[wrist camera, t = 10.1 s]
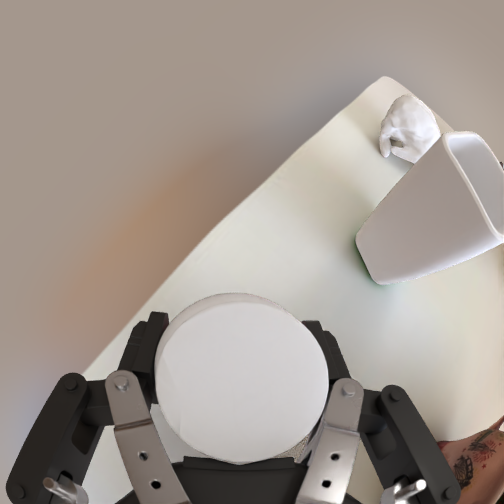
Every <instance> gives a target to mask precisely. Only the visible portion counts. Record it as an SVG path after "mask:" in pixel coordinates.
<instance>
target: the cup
mask: <svg viewBox="0 0 504 504" xmlns="http://www.w3.org/2000/svg"><path fill="white" fill-rule="evenodd" d="M355 242H356V245H357V248H358V250H359V252H360V254H361V256H362V258H363V260H364V262H365V264H366V267H367V269H368V271H369V273H370V275H371V277H372V279H373V280H374V281H375V282H376V283H377V284H380V285H387V284H393V283H399V282H403V281H407V280H412V279H416V278H419V277H422V276H425V275H428V274H431V273H434V272H437V271H440V270H443V269H446V268H449V267H451V266H454V265H456V264H459V263H461V262H463V261H466V260H468V259H471V258H473V257H475V256H477V255H479V254H481V253H483V252H485V251H487V250H489V249H492V248H494V247H496V246H498V245H500V244H501V243H503V242H504V170H503V168H502V167H501V165H500V163H499V161H498V160H497V158H496V157H495V155H494V153H493V152H492V150H491V149H490V147H489V146H488V145H487V143H486V142H485V141H484V140H483V139H482V138H481V137H480V136H479V135H478V134H476V133H474V132H471V131H458V132H446V133H444V134H442V136H441V137H440V138H439V139H438V140H437V141H436V142H435V143H434V144H433V145H432V146H431V147H430V148H429V150H428V151H427V152H426V153H425V154H424V155H423V156H422V157H421V158H420V159H419V160H418V161H417V162H416V163H415V164H414V165H413V166H412V168H411V169H410V170H409V171H408V172H407V173H406V174H405V175H404V176H403V177H402V178H401V180H400V181H399V182H398V183H397V184H396V185H395V186H394V187H393V188H392V190H391V191H390V192H389V193H388V194H387V195H386V197H385V198H384V199H383V200H382V201H381V202H380V203H379V205H378V206H377V207H376V208H375V210H374V211H373V212H372V213H371V215H370V216H369V217H368V219H367V220H366V221H365V223H364V224H363V225H362V227H361V228H360V230H359V231H358V233H357V235H356V241H355Z"/></svg>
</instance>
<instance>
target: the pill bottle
mask: <svg viewBox="0 0 504 504" xmlns="http://www.w3.org/2000/svg"><path fill="white" fill-rule="evenodd" d="M154 374H155V382H156V394H157V399H158V403H159V406H160V409H161V412H162V414H163V416H164V417H165V419H166V421H167V423H168V424H169V426H170V427H171V428H172V430H173V431H174V432H175V433H176V435H177V436H179V437H180V438H181V439H182V440H183V441H184V442H185V443H187V444H188V445H189V446H191V447H192V448H194V449H195V450H197V451H199V452H201V453H203V454H205V455H207V456H210V457H213V458H216V459H220V460H224V461H230V462H254V461H261V460H265V459H269V458H272V457H275V456H277V455H280V454H282V453H284V452H285V451H287V450H289V449H291V448H292V447H294V446H295V445H296V444H298V443H299V442H300V441H301V440H303V439H304V438H305V437H306V436H307V435H308V434H309V432H310V431H311V430H312V429H313V427H314V426H315V424H316V423H317V421H318V419H319V417H320V416H321V414H322V411H323V409H324V406H325V403H326V399H327V394H328V386H329V379H328V368H327V364H326V360H325V357H324V354H323V352H322V349H321V347H320V346H319V344H318V342H317V340H316V339H315V337H314V336H313V335H312V333H311V332H310V331H309V330H308V329H307V328H306V327H305V326H304V325H303V324H302V323H301V322H300V321H299V320H297V319H296V318H295V317H293V316H292V315H291V314H290V313H289V312H288V311H286V310H285V309H284V308H282V307H281V306H279V305H278V304H276V303H274V302H272V301H270V300H268V299H265V298H262V297H259V296H255V295H251V294H245V293H225V294H218V295H214V296H210V297H207V298H204V299H202V300H200V301H197V302H195V303H194V304H192V305H190V306H189V307H187V308H186V309H184V310H183V311H182V312H181V313H180V314H178V315H177V316H176V317H175V318H174V319H173V320H172V322H171V323H170V324H169V325H168V327H167V328H166V330H165V331H164V333H163V335H162V337H161V339H160V342H159V344H158V347H157V351H156V356H155V363H154Z"/></svg>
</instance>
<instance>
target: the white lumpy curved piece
mask: <svg viewBox="0 0 504 504" xmlns="http://www.w3.org/2000/svg"><path fill="white" fill-rule="evenodd" d="M439 138H440V131H439V128H438V126H437V123H436V119H435V117H434V115H433V113H432V112H431V110H430V109H429V108H428V107H427V106H426V105H425V104H424V103H423V102H422V101H421V100H420V99H418V98H416V97H414V96H412V95H410V94H407V95H402V96H401V97H399V98H398V99H396V100H395V101H394V102H393V104H392V105H391V107H390V109H389V110H388V113H387V115H386V117H385V119H384V120H383V121H382V123H381V131H380V136H379V140H380V141H379V143H380V150H381V153H382V156H383V157H388V156H389V154H390V152H392V153H393V154H394V155H396V156H398V157H400V158H402V159H404V160H407V161H409V162H412V163H414V164H415V163H416V162H417V161H418V160H419V159H420V158H421V157H422V156H423V155H424V154H425V153H426V152H427V151H428V150H429V148H430V147H431V146H432V145H433V144H434V143H435V142H436V141H437V140H438V139H439ZM390 139H392V140H395V141H398V140H400V141H402V145H403V147H396V146H393V147H392V145H391V142H390Z"/></svg>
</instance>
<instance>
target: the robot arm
mask: <svg viewBox="0 0 504 504" xmlns="http://www.w3.org/2000/svg"><path fill="white" fill-rule="evenodd" d="M302 324H303V325H304V326H305V327H306V328H307V329H308V330H309V331H310V332H311V333H312V335H313V336H314V337H315V339H316V340H317V342H318V344H319V346H320V347H321V349H322V352H323V354H324V357H325V360H326V364H327V368H328V379H329V386H328V394H327V399H326V403H325V406H324V409H323V411H322V414H321V416H320V417H319V419H318V421H317V423H316V424H315V426H314V427H313V429H312V430H311V431H310V433H309V436H308V438H307V441H306V444H305V446H304V449H303V451H302V453H301V454H300V456H299V458H298V460H297V462H296V463H295V462H294V457H286V458H271V459H265V460H261V461H256V462H252V463H248V464H244V465H236V464H231V463H227V462H223V461H219V460H215V459H212V458H200V457H189V456H184V460H183V461H182V462H176V463H171V461H170V459H169V457H168V455H167V453H166V451H165V448H164V446H163V444H162V442H161V439H160V437H159V435H158V432H157V430H156V427H155V425H154V422H153V420H152V417H151V415H150V409H151V404H152V403H153V404H159V403H158V399H157V394H156V382H155V374H154V363H155V356H156V351H157V347H158V344H159V342H160V339H161V337H162V335H163V333H164V331H165V330H166V328H167V327H168V325H169V318H168V313H163V312H153V311H152V312H151V314H150V316H149V319H148V322H145V321H140V322H139V323H138V324H137V325H136V326H135V327H134V328H133V330H132V332H131V335H130V338H129V340H128V343H127V345H126V348H125V350H124V353H123V356H122V358H121V361H120V364H119V367H118V369H117V371H114V372H112V373H111V374H110V375H109V376H108V377H107V379H104V380H96V381H86V380H85V378H84V377H83V376H82V375H80V374H78V373H68V374H66V375H64V376H63V377H62V378H60V380H59V381H58V383H57V385H56V386H55V388H54V390H53V391H52V393H51V395H50V396H49V398H48V400H47V401H46V403H45V405H44V407H43V409H42V410H41V412H40V414H39V416H38V418H37V419H36V421H35V423H34V425H33V427H32V429H31V431H30V432H29V435H28V437H27V438H26V440H25V442H24V444H23V446H22V449H21V451H20V453H19V455H18V457H17V459H16V461H15V464H14V466H13V468H12V471H11V473H10V475H9V477H8V480H7V483H6V492H7V495H8V497H9V499H10V501H11V502H12V503H13V504H88V502H89V499H88V495H87V493H86V491H85V490H84V489H83V488H82V487H81V486H82V483H83V480H84V478H85V475H86V472H87V470H88V467H89V464H90V462H91V459H92V457H93V454H94V451H95V449H96V447H97V444H98V442H99V439H100V437H101V434H102V432H103V430H104V427H105V426H109V425H115V428H114V434H115V438H116V441H117V444H118V447H119V450H120V454H121V456H122V459H123V462H124V465H125V468H126V471H127V473H128V476H129V478H130V481H131V483H132V486H133V488H134V489H133V490H132V491H131V492H130V493H128V494H127V495H126V496H125V497H123V498H122V499H121V500H119V501H118V502H117V503H115V504H362V503H361V502H359V501H358V500H356V499H355V498H353V497H352V496H351V495H349V494H348V493H347V492H346V490H347V487H348V484H349V480H350V477H351V473H352V470H353V466H354V462H355V458H356V454H357V450H358V446H359V441H360V438H361V440H362V442H363V444H364V446H365V448H366V451H367V453H368V455H369V457H370V459H371V462H372V464H373V466H374V468H375V470H376V473H377V475H378V477H379V479H380V482H381V484H382V486H383V488H384V492H383V493H382V495H381V501H380V504H456V503H457V502H458V501H459V499H460V496H461V487H460V485H459V483H458V481H457V479H456V477H455V475H454V473H453V472H452V470H451V468H450V466H449V464H448V462H447V460H446V459H445V457H444V455H443V453H442V452H441V450H440V448H439V446H438V444H437V443H436V441H435V439H434V438H433V436H432V434H431V432H430V431H429V429H428V427H427V426H426V424H425V422H424V421H423V419H422V417H421V416H420V414H419V412H418V411H417V409H416V407H415V406H414V404H413V403H412V401H411V399H410V398H409V396H408V395H407V393H406V392H405V390H404V389H402V388H401V387H399V386H396V385H388V386H386V387H384V388H383V390H382V391H381V392H380V391H372V390H366V389H363V388H362V386H361V385H360V384H359V383H358V382H357V381H355V380H353V379H351V376H350V374H349V371H348V369H347V366H346V364H345V361H344V358H343V356H342V355H341V351H340V348H339V346H338V343H337V341H336V339H335V337H334V336H333V335H332V334H331V333H330V332H329V331H323V330H322V327H321V324H320V322H319V321H302Z"/></svg>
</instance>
